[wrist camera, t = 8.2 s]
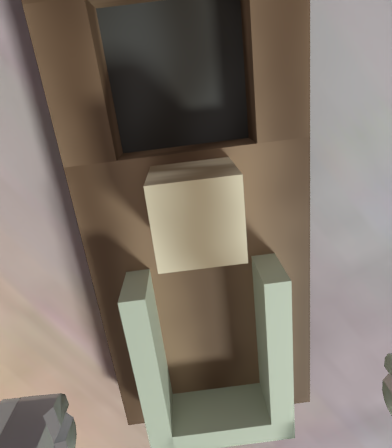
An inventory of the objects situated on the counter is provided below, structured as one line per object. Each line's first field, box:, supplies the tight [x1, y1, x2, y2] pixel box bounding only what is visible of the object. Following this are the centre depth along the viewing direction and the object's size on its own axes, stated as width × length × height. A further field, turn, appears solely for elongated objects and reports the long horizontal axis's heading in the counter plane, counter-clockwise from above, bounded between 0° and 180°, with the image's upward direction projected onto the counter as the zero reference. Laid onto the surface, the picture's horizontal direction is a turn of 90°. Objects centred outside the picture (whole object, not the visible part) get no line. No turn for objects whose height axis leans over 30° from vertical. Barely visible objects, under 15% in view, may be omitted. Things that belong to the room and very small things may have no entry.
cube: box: [143, 157, 248, 274], centre depth 19 cm, size 4×4×4 cm
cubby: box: [118, 253, 295, 448], centre depth 23 cm, size 10×12×4 cm
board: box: [21, 0, 310, 425], centre depth 22 cm, size 14×36×3 cm, turn 7°
